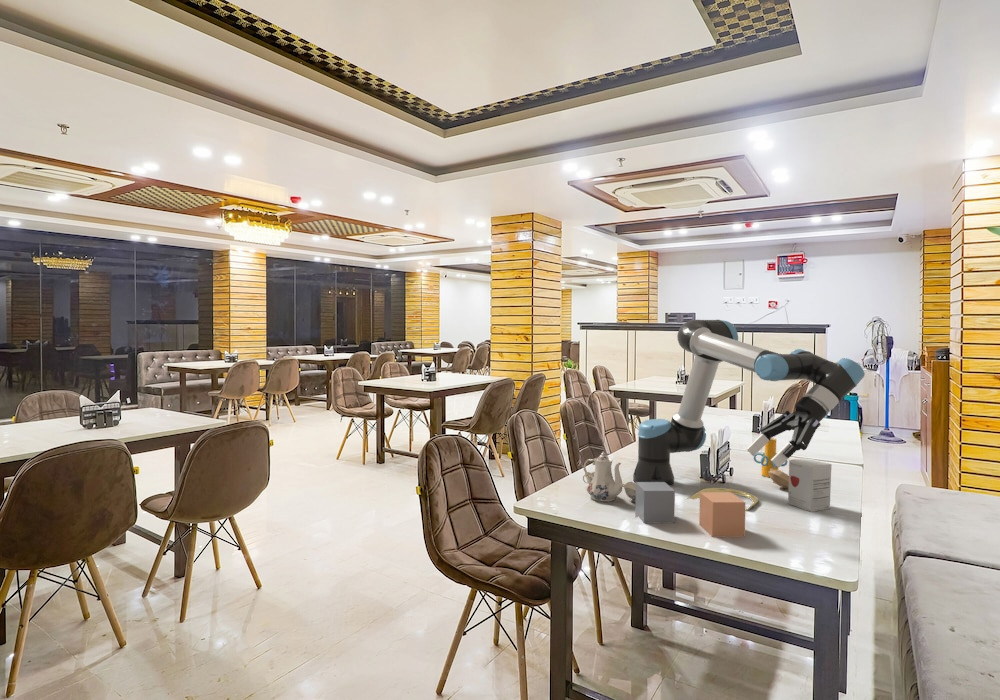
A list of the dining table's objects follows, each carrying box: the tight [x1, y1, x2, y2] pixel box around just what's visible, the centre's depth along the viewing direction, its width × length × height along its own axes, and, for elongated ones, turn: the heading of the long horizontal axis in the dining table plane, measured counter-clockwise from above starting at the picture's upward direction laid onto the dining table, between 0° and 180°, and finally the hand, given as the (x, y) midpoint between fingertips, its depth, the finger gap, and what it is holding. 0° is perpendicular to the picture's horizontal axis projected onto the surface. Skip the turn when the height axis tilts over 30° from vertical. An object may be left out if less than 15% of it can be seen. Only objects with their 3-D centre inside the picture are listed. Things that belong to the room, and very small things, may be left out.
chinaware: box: [582, 451, 636, 503], centre depth 186 cm, size 28×17×17 cm, turn 44°
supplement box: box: [787, 457, 833, 513], centre depth 176 cm, size 9×9×15 cm
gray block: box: [634, 482, 676, 524], centre depth 161 cm, size 9×9×11 cm
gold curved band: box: [685, 487, 759, 512], centre depth 177 cm, size 19×35×2 cm, turn 139°
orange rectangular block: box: [698, 492, 746, 538], centre depth 150 cm, size 9×9×11 cm
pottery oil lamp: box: [768, 468, 789, 489], centre depth 195 cm, size 9×12×7 cm
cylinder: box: [753, 437, 788, 478], centre depth 213 cm, size 12×10×15 cm
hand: (761, 458), depth 150 cm, fingers open, 13 cm apart
